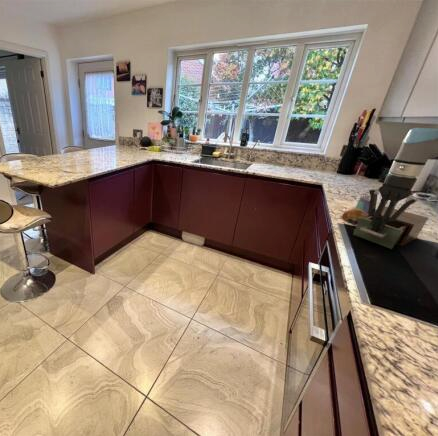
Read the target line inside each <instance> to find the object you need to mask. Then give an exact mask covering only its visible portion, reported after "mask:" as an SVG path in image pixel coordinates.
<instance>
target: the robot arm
mask: <svg viewBox="0 0 438 436" xmlns="http://www.w3.org/2000/svg"><path fill="white" fill-rule="evenodd" d="M429 160H431V161H432V160H436V161H438V128H426V127H413V128H411V129H410V130H409V131H408V132H407V134H406V135H405V137H404V138H403V140H402V143H401V145H400V147H399V149H398V152H397V153H396V156H395V158H394V160H393V162H392V164H391V166H390V169H389V170H388V174H386V175H385V179H383V183H382V184H381V185H379V187H378V188H373V189H369V196H370V197H369V199H370V204H369V211H368V215H371V216H372V217H373V219H372V221H371V223H370V225H371V226H372V228H371V231H374V232H378V230H379V228H380V229H382V228H384V226H385V224H386V222H387V221H390V222H392V221H394V220H396V219H397V218H398V217H399V216H400V215H401V214H402V213H403V212H404V211H405V212H406V210H407V209H409V207H410V206H411V205H413V204H415V203H417V202H418V201H419V199H418V198H415V197H414V196H412V194H413V193H412V190H413V188H414V186H415V184H416V183H417V181H418V177H420V176H421V174H422V171H423V169H424V168H425V165H426V164H427V163H428V161H429ZM379 194H380V197H381V199H380V202H379V204H378V203H377V202H378V195H379ZM402 200H405V202H404V203H403V204H402V205H401V206H400V207H399V208H398V209H397V211H396V212H395V213H394V214H393V215H392V217H390V216H391V214H392V212H393V210H394V209H396V206H397V204H398V203H399V202H400V201H402ZM388 203H389V204H388ZM377 204H378V206H377ZM387 204H388V206H387ZM385 206H386V207H388V208H387V210H386V212H385V214H384V216H383V218H382V219H381V218H379V217H381V216H380V215H381V214H382V212H383V210H384V208H385ZM376 209H377V210H376ZM375 210H376V212H375ZM369 235H371V234H369ZM372 236H374V235H372Z"/></svg>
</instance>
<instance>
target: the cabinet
mask: <svg viewBox="0 0 438 436" xmlns="http://www.w3.org/2000/svg"><path fill="white" fill-rule="evenodd" d="M387 208H388V206H387V205H386V206H385V208H384V210H383V212H382V214H381V215H380V216H381V217H382V218H383V216H384V214H385V212H386V210H387ZM376 210H377V208H376ZM376 210H375V212H376ZM397 210H398V209H397V208H394V210H393V212H392V214H391V216H390V217H392V215H393V214H394V213H395V212H396V211H397ZM370 216H371V215H368V216H367V217H370ZM428 220H429V217H427V216H423V215H419V214H416V213H413V212H409V211H406V210H405V211H404V212H403V213H402V214H401V215H400V216H399V217H398V218H397V219H396V220H394V221H395V222H399V223H402V224H405V225H409V226H410V227H409V229H408V230H407V232H406V234H405V236H404V237H403V239H402V241H400V242H398V243H396V244H395V245H398V246H401V247H403V246H405V245H406V244H409V243H410V242H412V241H413V240H415V239H418V236H419V235H420V234H421V232H422V230H423V228H424V227H425V225H426V223H427V222H428Z"/></svg>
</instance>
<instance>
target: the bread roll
mask: <svg viewBox="0 0 438 436" xmlns="http://www.w3.org/2000/svg"><path fill="white" fill-rule="evenodd" d="M355 208H356V207H354V208H350V209H348V210H345V211H344V212H343V213H342V215H341V219H342V220H343V221H344V222H347V223H350V224H354V225H357V224H358V222H359V220H360V218H361V217H363V218H367V216H368V214H367V213H366V212H364V211H363V210H360V209H355Z"/></svg>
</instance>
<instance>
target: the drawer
mask: <svg viewBox="0 0 438 436" xmlns="http://www.w3.org/2000/svg"><path fill="white" fill-rule="evenodd" d="M379 218H381V219H382V217H379ZM372 219H373V217H372V216H370V217H367V218H363V217H361V218H360V220H359V222H358V224H356V226H355V229H354V231H353V233H352V235H353V236H356V237H358V238H360V239H364V240H367V241H369V242H371V243H375V244H377V245H380V246H381V247H385V248H387V249H390V250H392V249H393V248H394V247H395V245H397V244H396V243H398V242H400V241H402V239H403V237H404V236H405V234H406V232H407V230H408V229H409V227H410V226H409V225H405V224H402V223H399V222H395V221H392V222H390V221H387V222H386V224H385V226H384V228H382V229H380V228H379V230H378V232H374V231H371V228H372V226H371V225H370V223H371V221H372ZM369 234H371V235H369ZM372 235H374V236H372Z"/></svg>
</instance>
